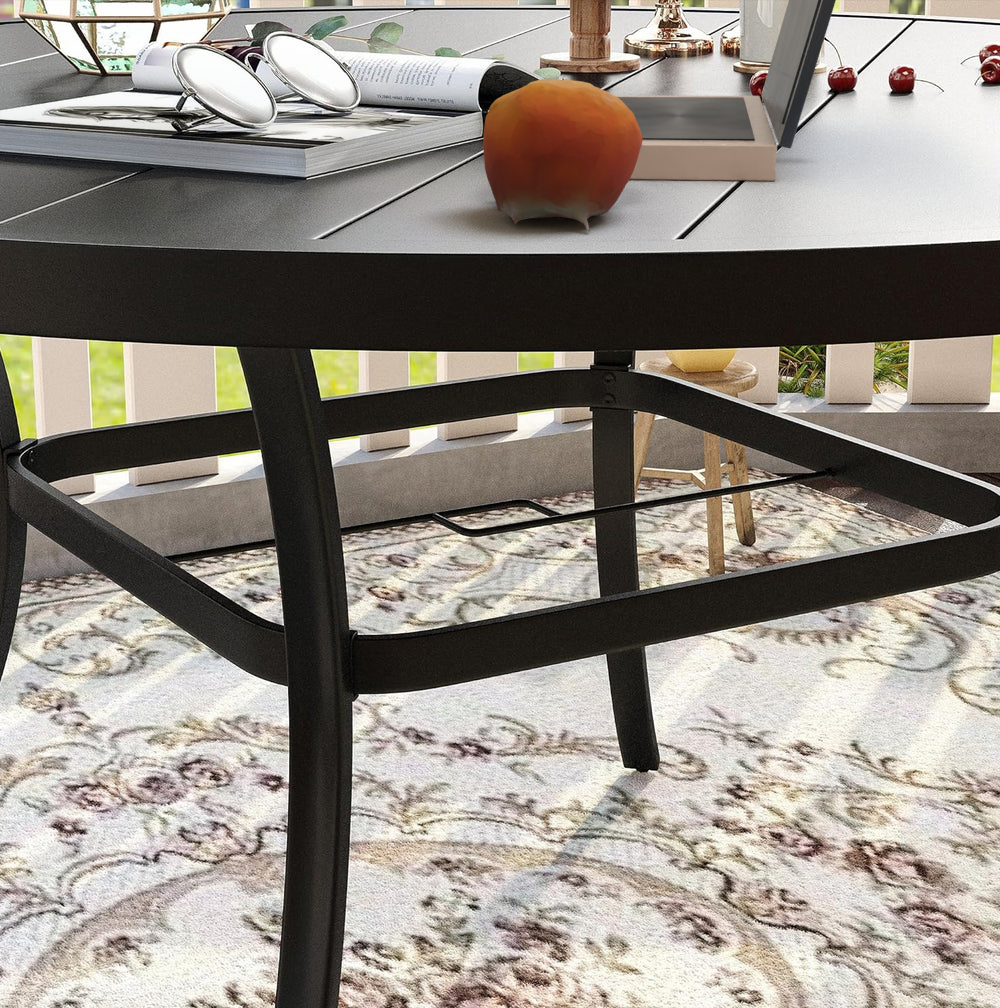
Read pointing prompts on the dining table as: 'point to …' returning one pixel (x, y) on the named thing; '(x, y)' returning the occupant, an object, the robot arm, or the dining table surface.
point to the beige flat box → (703, 138)
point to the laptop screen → (794, 64)
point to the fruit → (559, 150)
